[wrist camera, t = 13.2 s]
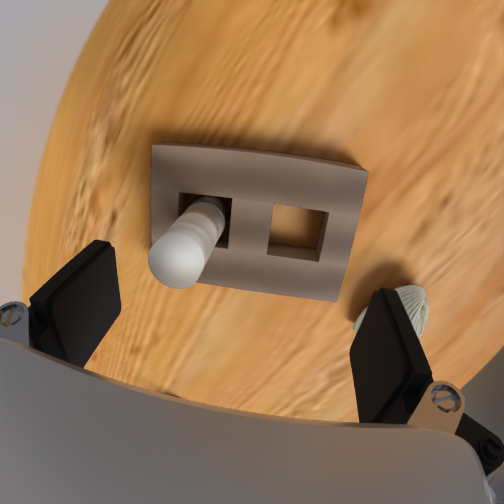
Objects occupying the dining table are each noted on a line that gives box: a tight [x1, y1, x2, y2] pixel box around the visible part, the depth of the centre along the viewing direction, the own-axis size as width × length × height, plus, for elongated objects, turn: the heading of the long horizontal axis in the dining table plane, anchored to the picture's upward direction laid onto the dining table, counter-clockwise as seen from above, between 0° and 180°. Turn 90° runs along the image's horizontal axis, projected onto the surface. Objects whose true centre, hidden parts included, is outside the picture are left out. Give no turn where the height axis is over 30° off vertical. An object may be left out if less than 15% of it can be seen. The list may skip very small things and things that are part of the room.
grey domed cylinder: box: [148, 196, 228, 289], centre depth 27 cm, size 4×4×12 cm
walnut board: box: [151, 142, 369, 302], centre depth 30 cm, size 14×20×3 cm
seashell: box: [353, 285, 428, 340], centre depth 32 cm, size 8×8×8 cm
